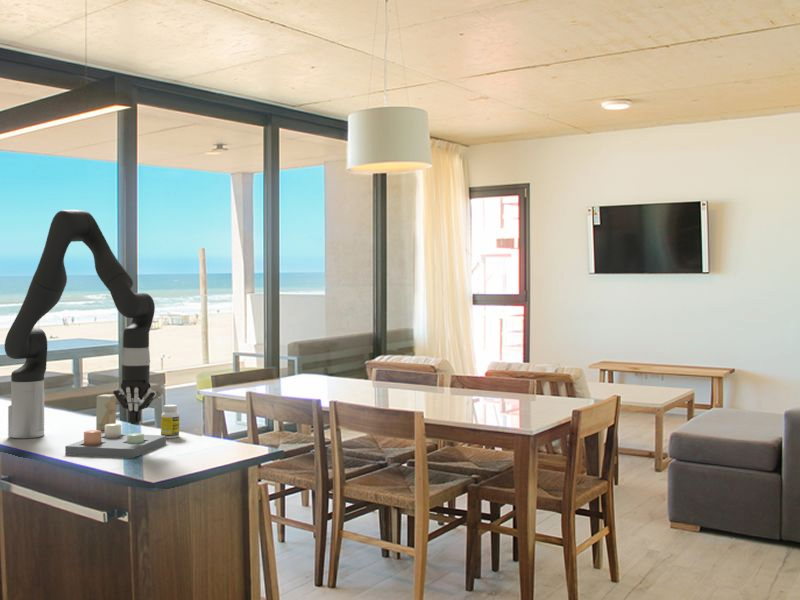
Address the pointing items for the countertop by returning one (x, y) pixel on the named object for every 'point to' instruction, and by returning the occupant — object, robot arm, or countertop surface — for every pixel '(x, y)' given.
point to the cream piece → (113, 431)
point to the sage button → (135, 438)
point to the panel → (116, 447)
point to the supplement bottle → (170, 422)
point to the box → (105, 411)
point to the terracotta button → (92, 438)
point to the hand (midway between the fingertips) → (135, 423)
